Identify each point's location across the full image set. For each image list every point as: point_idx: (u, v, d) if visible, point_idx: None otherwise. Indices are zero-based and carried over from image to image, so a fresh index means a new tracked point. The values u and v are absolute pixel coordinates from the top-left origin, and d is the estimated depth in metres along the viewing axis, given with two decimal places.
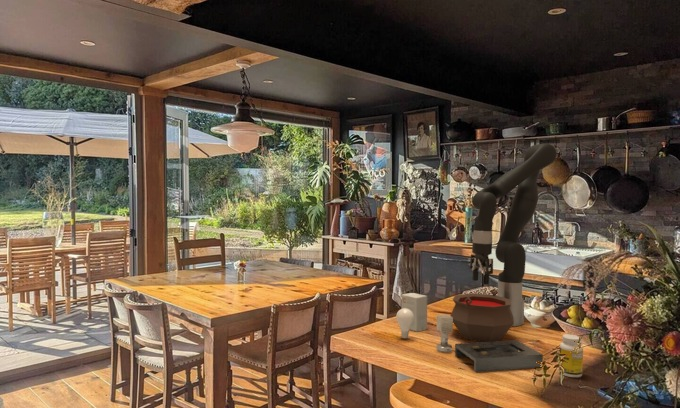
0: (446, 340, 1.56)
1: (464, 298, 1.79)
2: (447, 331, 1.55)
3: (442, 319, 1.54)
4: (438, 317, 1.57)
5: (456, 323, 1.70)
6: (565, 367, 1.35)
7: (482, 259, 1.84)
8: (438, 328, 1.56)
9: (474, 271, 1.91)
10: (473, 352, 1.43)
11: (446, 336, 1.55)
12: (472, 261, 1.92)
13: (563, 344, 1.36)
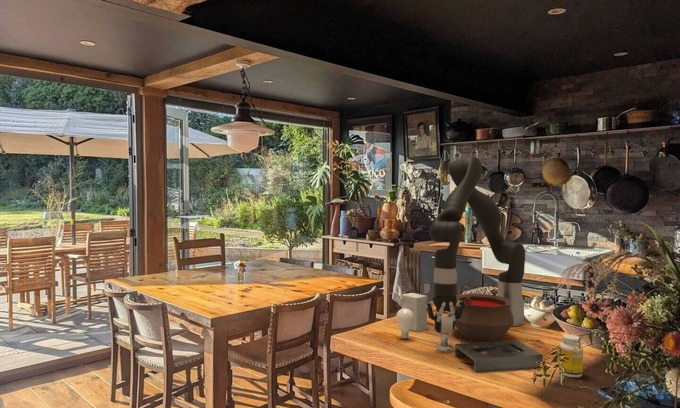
0: (446, 340, 1.56)
1: (464, 298, 1.79)
2: (447, 331, 1.55)
3: (442, 319, 1.54)
4: None
5: (456, 323, 1.70)
6: (565, 367, 1.35)
7: (454, 300, 1.56)
8: None
9: None
10: (473, 352, 1.43)
11: (446, 336, 1.55)
12: (432, 310, 1.55)
13: (563, 344, 1.36)
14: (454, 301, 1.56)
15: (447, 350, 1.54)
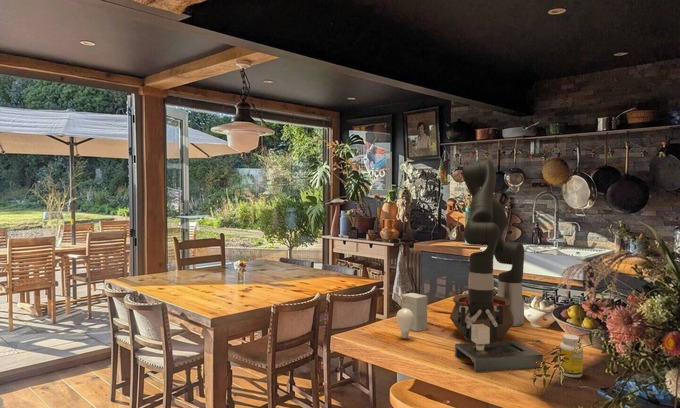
0: None
1: (464, 298, 1.79)
2: (483, 342, 1.43)
3: (478, 329, 1.43)
4: (473, 327, 1.45)
5: (456, 323, 1.70)
6: (565, 367, 1.35)
7: (490, 308, 1.44)
8: (473, 339, 1.45)
9: None
10: (473, 352, 1.43)
11: (482, 348, 1.44)
12: None
13: (563, 344, 1.36)
14: (491, 308, 1.44)
15: None
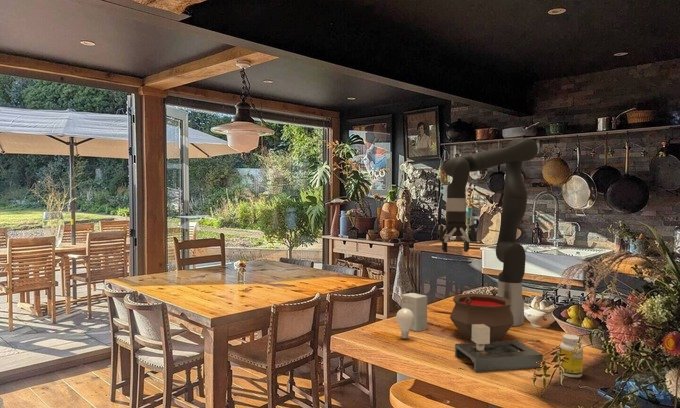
0: None
1: (464, 298, 1.79)
2: (484, 342, 1.43)
3: (479, 329, 1.43)
4: (474, 327, 1.45)
5: (456, 323, 1.70)
6: (565, 367, 1.35)
7: (463, 227, 1.80)
8: (474, 339, 1.45)
9: None
10: (473, 352, 1.43)
11: (482, 348, 1.44)
12: None
13: (563, 344, 1.36)
14: (464, 227, 1.80)
15: None
